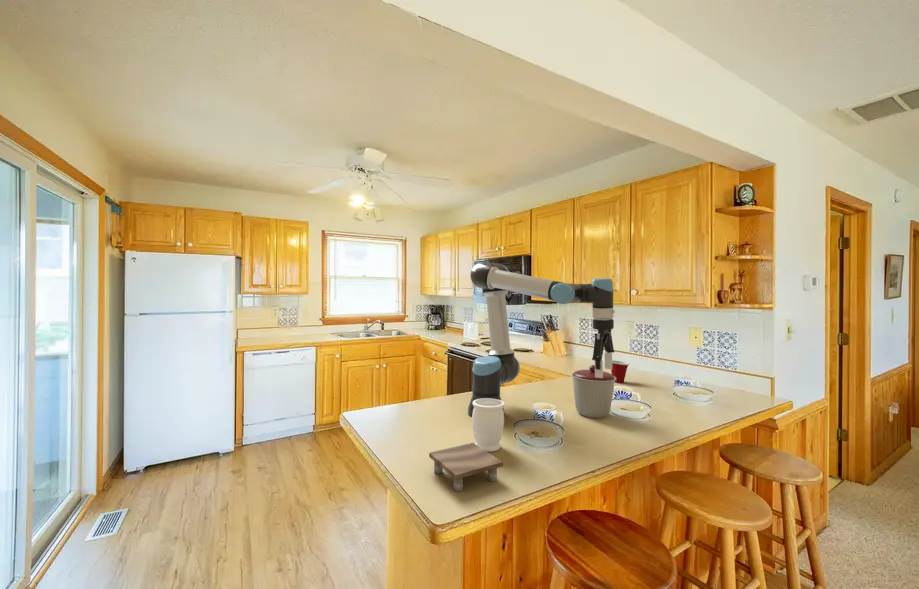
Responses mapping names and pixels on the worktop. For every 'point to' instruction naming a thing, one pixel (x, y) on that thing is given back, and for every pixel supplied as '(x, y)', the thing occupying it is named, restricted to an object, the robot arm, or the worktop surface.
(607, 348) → the robot arm
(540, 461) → the worktop surface
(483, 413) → the jar
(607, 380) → the canister
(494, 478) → the wooden trivet stand
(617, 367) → the plastic cup
